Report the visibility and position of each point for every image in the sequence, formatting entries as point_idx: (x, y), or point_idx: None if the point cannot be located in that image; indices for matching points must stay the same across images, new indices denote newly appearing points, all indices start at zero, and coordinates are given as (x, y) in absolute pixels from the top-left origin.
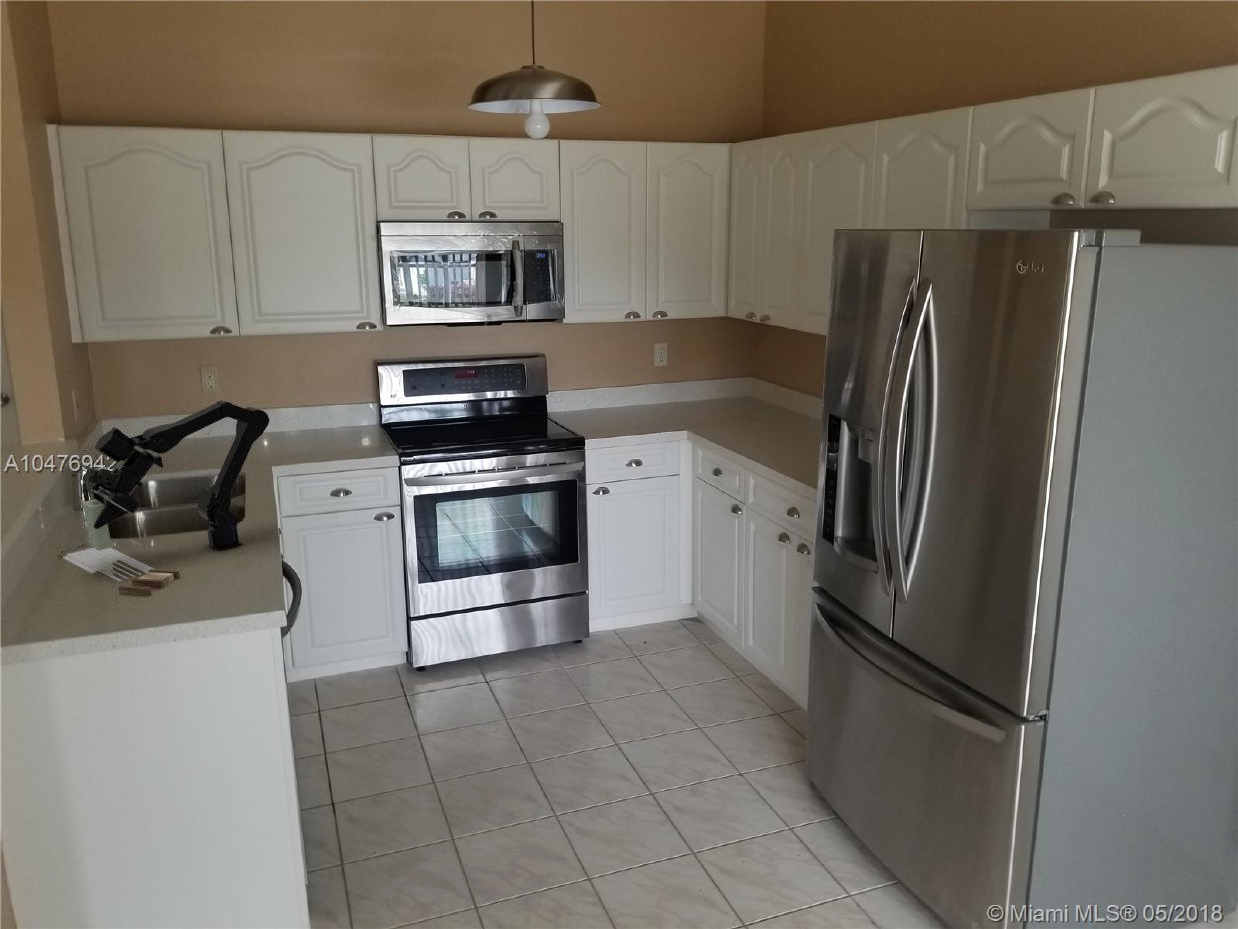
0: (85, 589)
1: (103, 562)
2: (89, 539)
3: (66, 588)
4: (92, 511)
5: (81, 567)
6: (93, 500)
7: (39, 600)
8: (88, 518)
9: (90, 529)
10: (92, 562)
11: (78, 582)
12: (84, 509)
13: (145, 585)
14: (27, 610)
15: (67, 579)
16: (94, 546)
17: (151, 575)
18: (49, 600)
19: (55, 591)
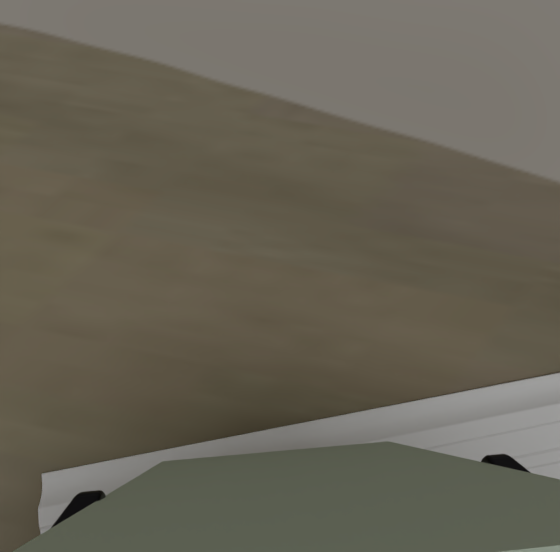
0: (111, 335)
1: None
2: (389, 446)
3: (201, 265)
4: None
5: (475, 389)
6: None
7: (121, 142)
8: (332, 489)
9: (307, 468)
10: (498, 452)
11: (251, 329)
12: (546, 495)
13: None
14: (28, 83)
15: (339, 296)
16: (255, 454)
17: None
18: (85, 174)
19: (195, 218)
